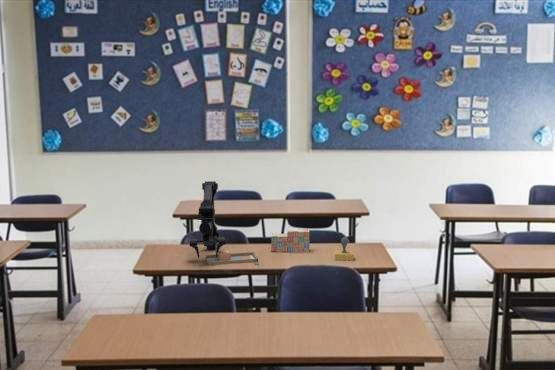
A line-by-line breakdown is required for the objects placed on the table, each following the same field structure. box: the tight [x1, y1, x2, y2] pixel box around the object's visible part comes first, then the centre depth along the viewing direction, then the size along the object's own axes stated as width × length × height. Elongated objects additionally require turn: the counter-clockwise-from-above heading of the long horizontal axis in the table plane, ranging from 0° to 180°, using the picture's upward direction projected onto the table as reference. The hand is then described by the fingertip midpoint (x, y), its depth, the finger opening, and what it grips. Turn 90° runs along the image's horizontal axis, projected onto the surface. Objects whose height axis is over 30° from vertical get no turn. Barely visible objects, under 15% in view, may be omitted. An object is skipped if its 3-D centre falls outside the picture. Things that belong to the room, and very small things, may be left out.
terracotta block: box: [218, 250, 231, 261], centre depth 333 cm, size 5×6×4 cm
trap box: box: [205, 251, 259, 266], centre depth 332 cm, size 13×26×3 cm, turn 103°
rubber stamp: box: [334, 237, 355, 261], centre depth 337 cm, size 10×6×12 cm, turn 85°
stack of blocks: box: [270, 228, 311, 254], centre depth 353 cm, size 21×6×12 cm, turn 86°
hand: (207, 257), depth 331 cm, fingers open, 9 cm apart
